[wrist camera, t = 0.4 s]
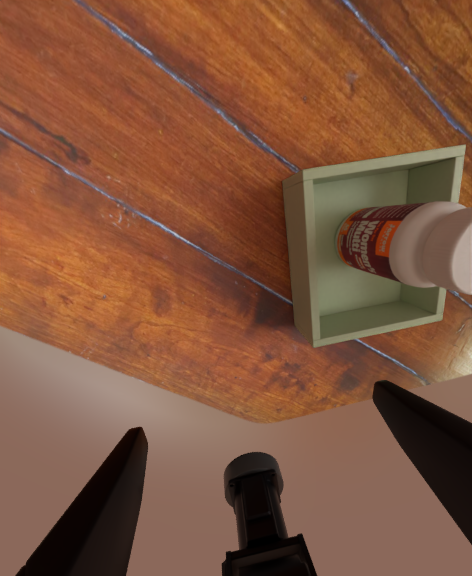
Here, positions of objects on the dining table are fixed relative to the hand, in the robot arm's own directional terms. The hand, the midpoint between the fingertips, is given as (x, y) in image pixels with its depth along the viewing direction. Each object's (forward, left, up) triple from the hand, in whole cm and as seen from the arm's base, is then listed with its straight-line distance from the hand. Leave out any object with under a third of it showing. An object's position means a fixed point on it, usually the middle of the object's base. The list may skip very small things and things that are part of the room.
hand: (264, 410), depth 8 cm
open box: (+2, -14, -16) cm, 21 cm away
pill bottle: (+3, -15, -16) cm, 22 cm away
